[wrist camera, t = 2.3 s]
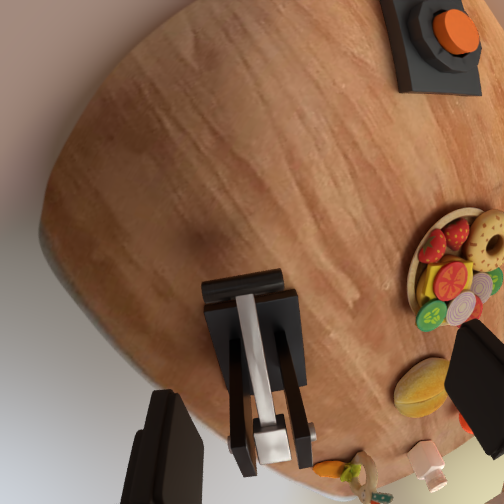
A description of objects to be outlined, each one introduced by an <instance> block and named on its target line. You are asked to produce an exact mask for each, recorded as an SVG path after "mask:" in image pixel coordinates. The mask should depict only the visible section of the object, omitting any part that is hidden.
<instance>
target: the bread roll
mask: <svg viewBox="0 0 504 504" xmlns="http://www.w3.org/2000/svg"><path fill="white" fill-rule="evenodd" d="M449 364H450V361H448V360H447V359H443V358H428V359H425V360H423V361H421V362H420V363H418V364H417V365H415V366H414V367H412V368H411V369H410V370H409V371H408V372H407V373H406V374H405V375H404V376H403V377H402V378H401V379H400V381H399V382H398V384H397V386H396V388H395V392H394V405H395V407H396V409H397V410H398V411H399V412H400V413H401V414H402V415H404V416H407V417H413V418H418V417H423V416H426V415H429V414H431V413H432V412H434V411H436V410H437V409H438V408H439V407H440V406H441V405H442V404H443V403H444V401H445V400H446V398H447V396H448V394H447V392H446V391H445V388H444V382H445V378H446V375H447V371H448V367H449Z"/></svg>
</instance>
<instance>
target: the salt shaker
mask: <svg viewBox="0 0 504 504" xmlns="http://www.w3.org/2000/svg"><path fill="white" fill-rule="evenodd" d="M407 456H408V458H409V461H410V463H411V465H412V467H413V470H414V472H415V474H416V476H417V478H418V479H421V480H423V479H425V481H426V483H427V486H428V489H429V491H430V492H434V491H437V490H439V489H441V488H442V487H444V486H445V485H446V484H447V480H446V478H445V476H444V474H443V473H442V471H441V470H442V468H443V467H444V465H445V463H444V461H443V459H442V457H441V455H440V453H439V451H438V449H437V447H436V445H435V443H434V442H433V441H432V440H430V441H420V442H418V443H417V444H416V445H415V446H414V447H413V448H412V449H411V450H410V451H409V452H408V453H407Z"/></svg>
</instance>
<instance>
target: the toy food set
mask: <svg viewBox="0 0 504 504" xmlns="http://www.w3.org/2000/svg"><path fill="white" fill-rule="evenodd" d="M503 263H504V212H502V211H500V210H496V209H492V210H488V211H486V212H484V211H482V210H480V209H477V208H472V207H467V208H461V209H457V210H455V211H452V212H450V213H448V214H447V215H445V216H444V217H442V218H441V219H440V220H438V221H437V222H436V223H435V224H434V225H433V226H432V227H431V228H430V229H429V231H428V232H427V233H426V234H425V236H424V237H423V239H422V240H421V242H420V244H419V245H418V247H417V249H416V251H415V253H414V256H413V258H412V261H411V264H410V267H409V271H408V277H407V296H408V301H409V305H410V307H411V309H412V311H413V313H414V314H415V315H416V322H415V325H416V326H417V327H418V328H419V329H420V330H421V331H424V332H428V331H432V330H434V329H435V328H437V327H438V326H444V325H451V326H457V327H458V328H460V326H461V324H462V323H464V322H467V321H469V320H472V319H474V318H476V319H479V317H480V316H481V313H482V309H483V305H482V304H483V303H485V302H486V301H487V300H488V298H489V297H490V296H491V295H493V294H495V293H496V292H497V291H498V290H499V289H500V287H501V285H502V282H503V273H502V271H501V269H500V268H499V266H501V265H502V264H503Z"/></svg>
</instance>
